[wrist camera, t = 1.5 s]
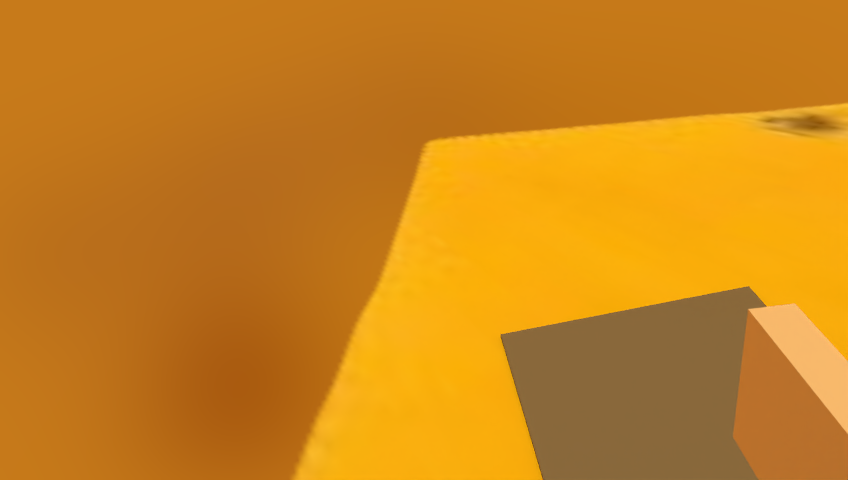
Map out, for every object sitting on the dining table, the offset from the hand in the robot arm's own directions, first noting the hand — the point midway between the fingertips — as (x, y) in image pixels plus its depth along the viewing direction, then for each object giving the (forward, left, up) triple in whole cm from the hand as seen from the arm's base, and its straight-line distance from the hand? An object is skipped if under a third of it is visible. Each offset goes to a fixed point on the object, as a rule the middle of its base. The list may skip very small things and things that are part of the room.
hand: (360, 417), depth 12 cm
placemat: (-14, -23, -24) cm, 36 cm away
